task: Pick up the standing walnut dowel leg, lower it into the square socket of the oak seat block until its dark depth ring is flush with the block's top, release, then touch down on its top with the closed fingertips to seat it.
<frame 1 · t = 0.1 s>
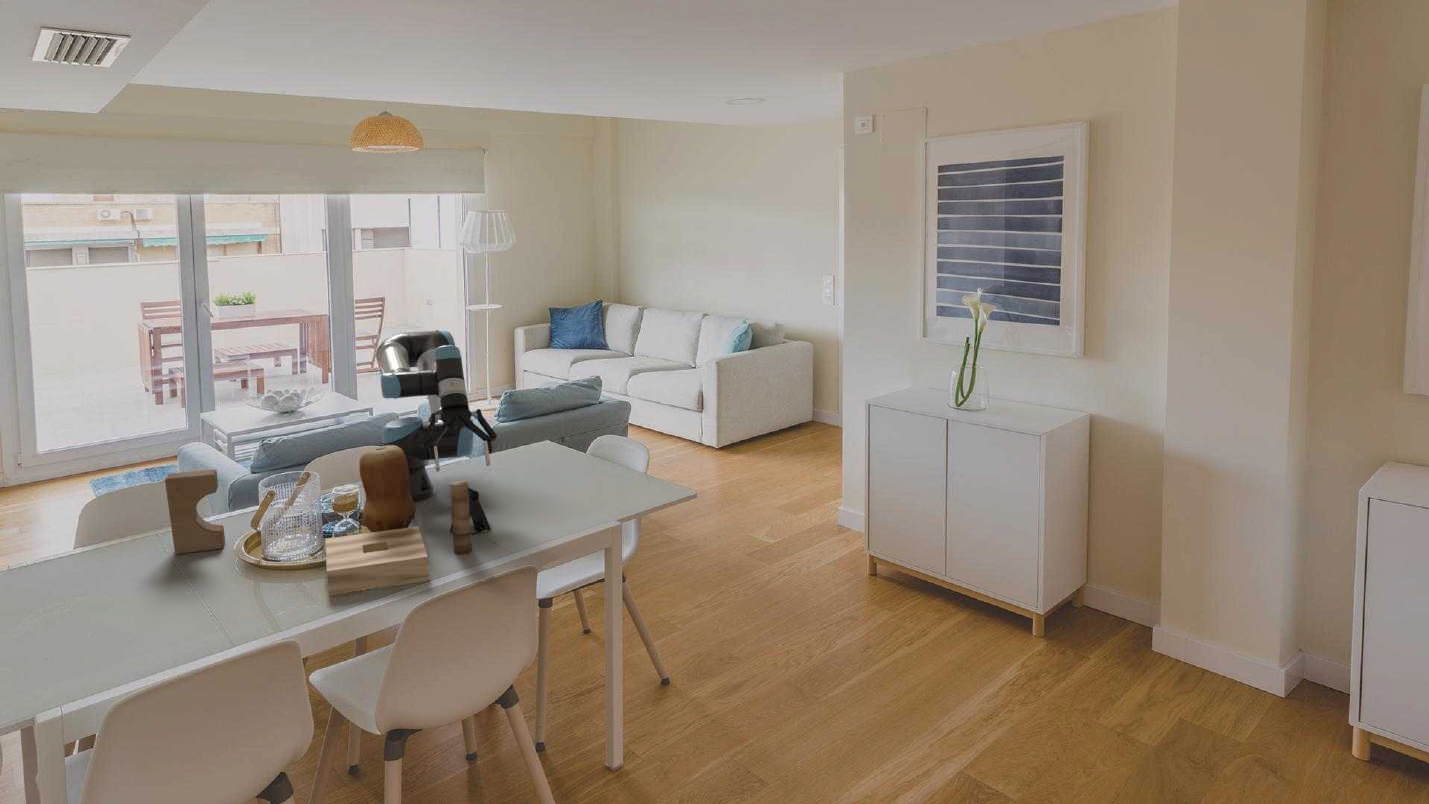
hand: (463, 467, 258), 15 cm above the table, tool tilted 35°, fingers open, 13 cm apart
butternut squash: (391, 538, 248), on the table
seat block: (377, 570, 227), on the table
leg: (462, 550, 239), on the table
decorative block: (200, 549, 241), on the table
black a-frame stand: (470, 531, 253), on the table
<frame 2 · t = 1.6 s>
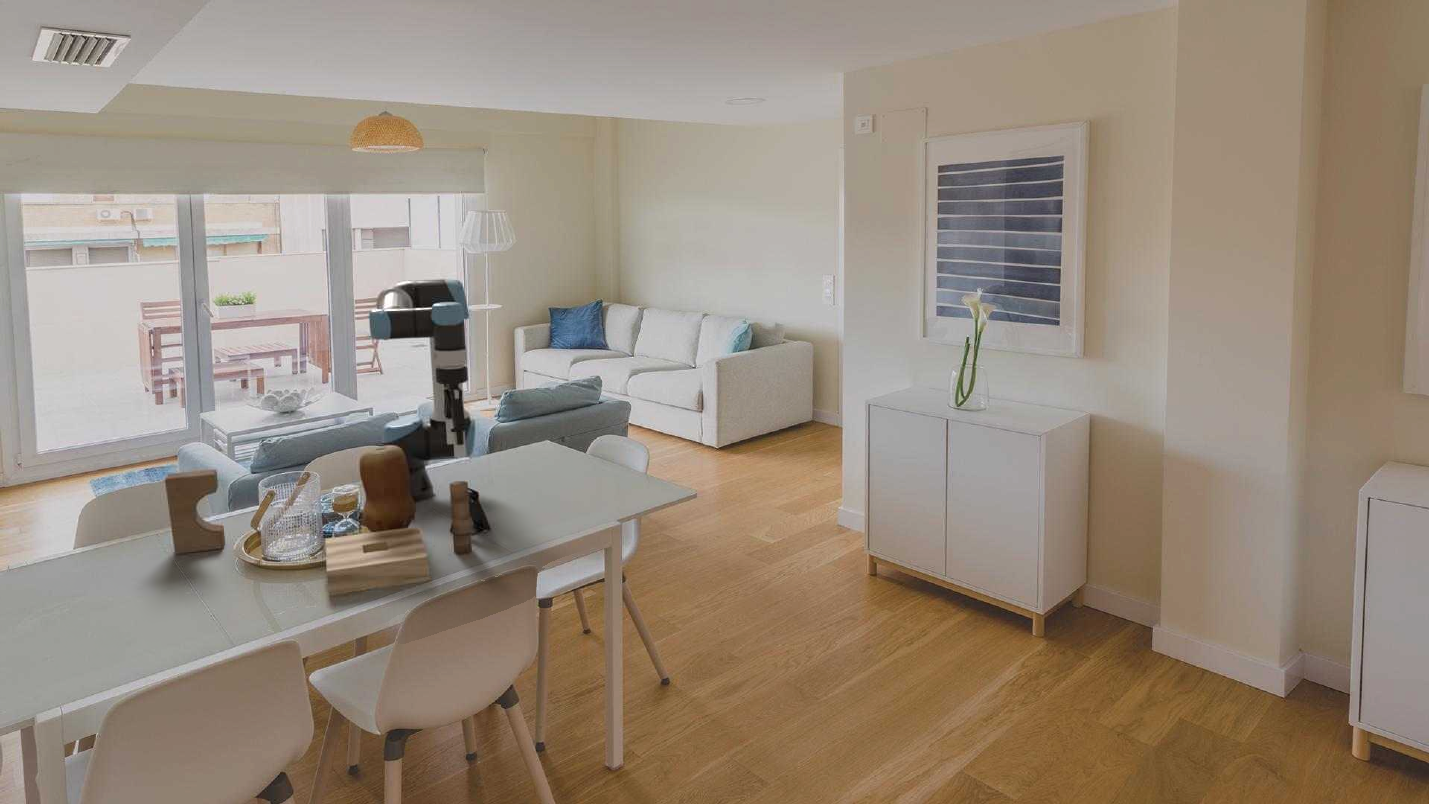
hand: (456, 450, 233), 27 cm above the table, tool pointing down, fingers open, 13 cm apart
nothing on the table moved.
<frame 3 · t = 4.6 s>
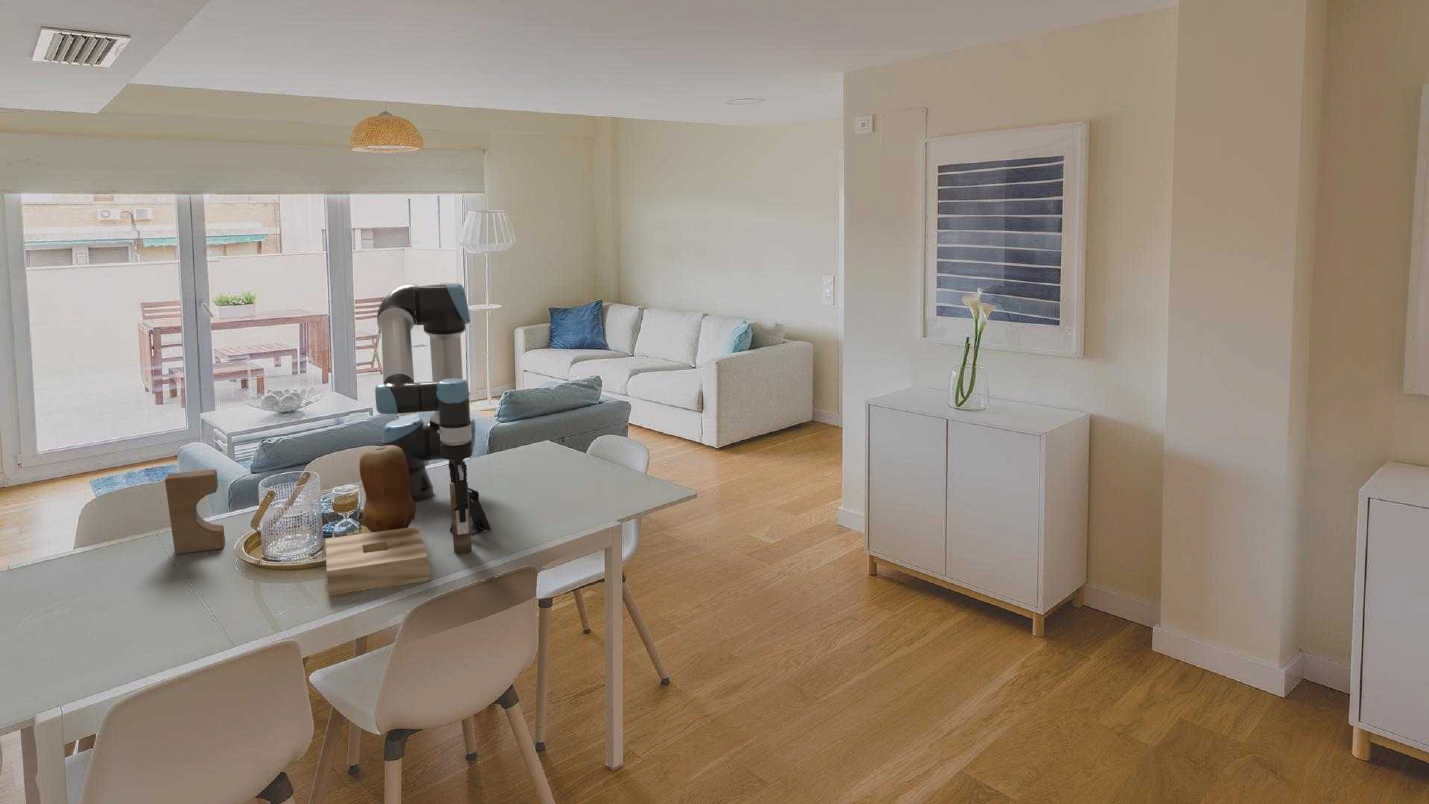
hand: (461, 529, 238), 6 cm above the table, tool pointing down, fingers closed on leg, 4 cm apart
leg: (462, 550, 239), on the table, touching gripper
everything else where it was.
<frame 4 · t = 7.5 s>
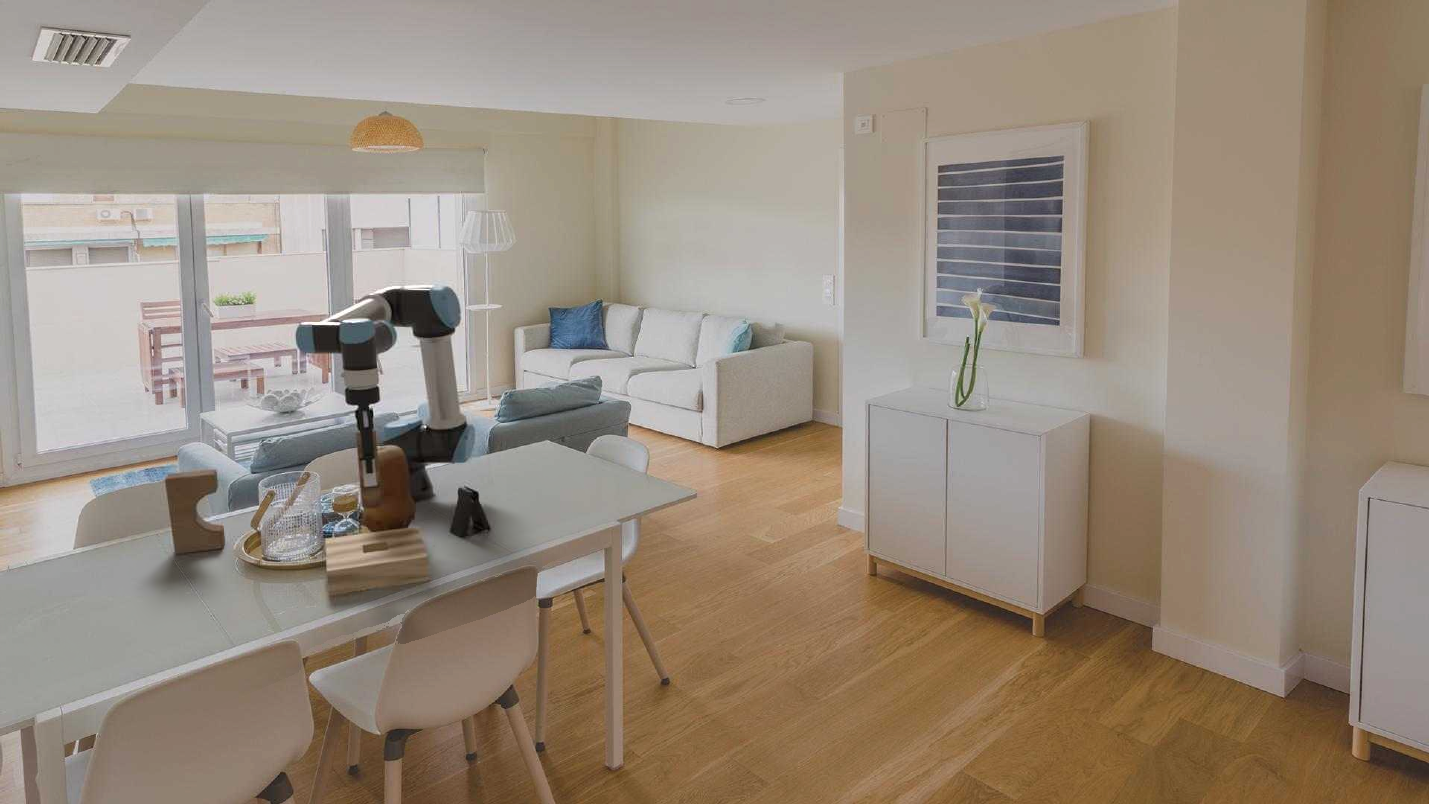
hand: (369, 482, 222), 22 cm above the table, tool pointing down, fingers closed on leg, 4 cm apart
leg: (371, 505, 223), point 17 cm above the table, touching gripper
everything else where it was.
when the fingers open (8 cm above the table, at t = 10.3 s): leg stays where it is, resting on seat block.
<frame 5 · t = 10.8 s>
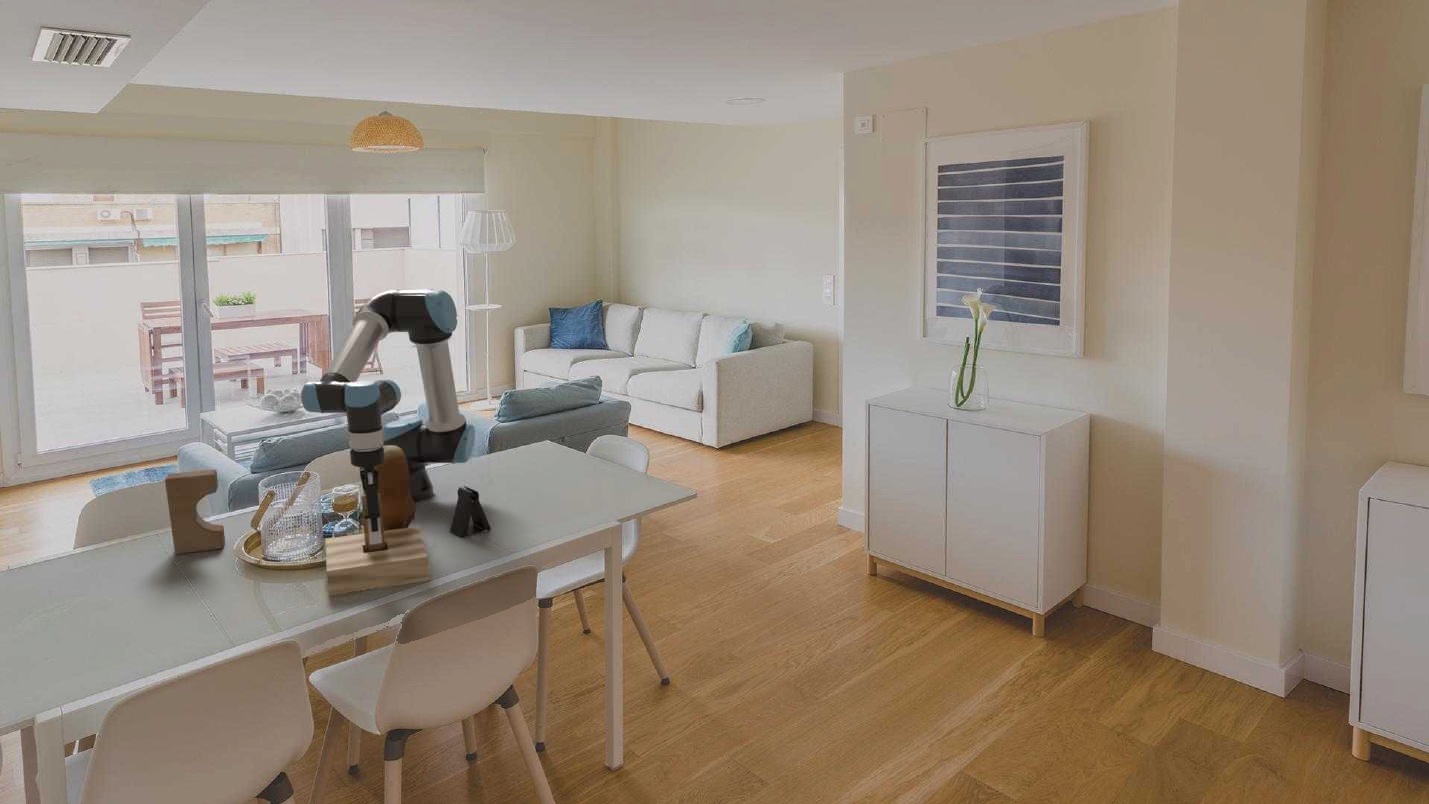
hand: (374, 534, 225), 9 cm above the table, tool pointing down, fingers open, 11 cm apart
leg: (377, 566, 226), point 1 cm above the table, touching seat block
everything else where it was.
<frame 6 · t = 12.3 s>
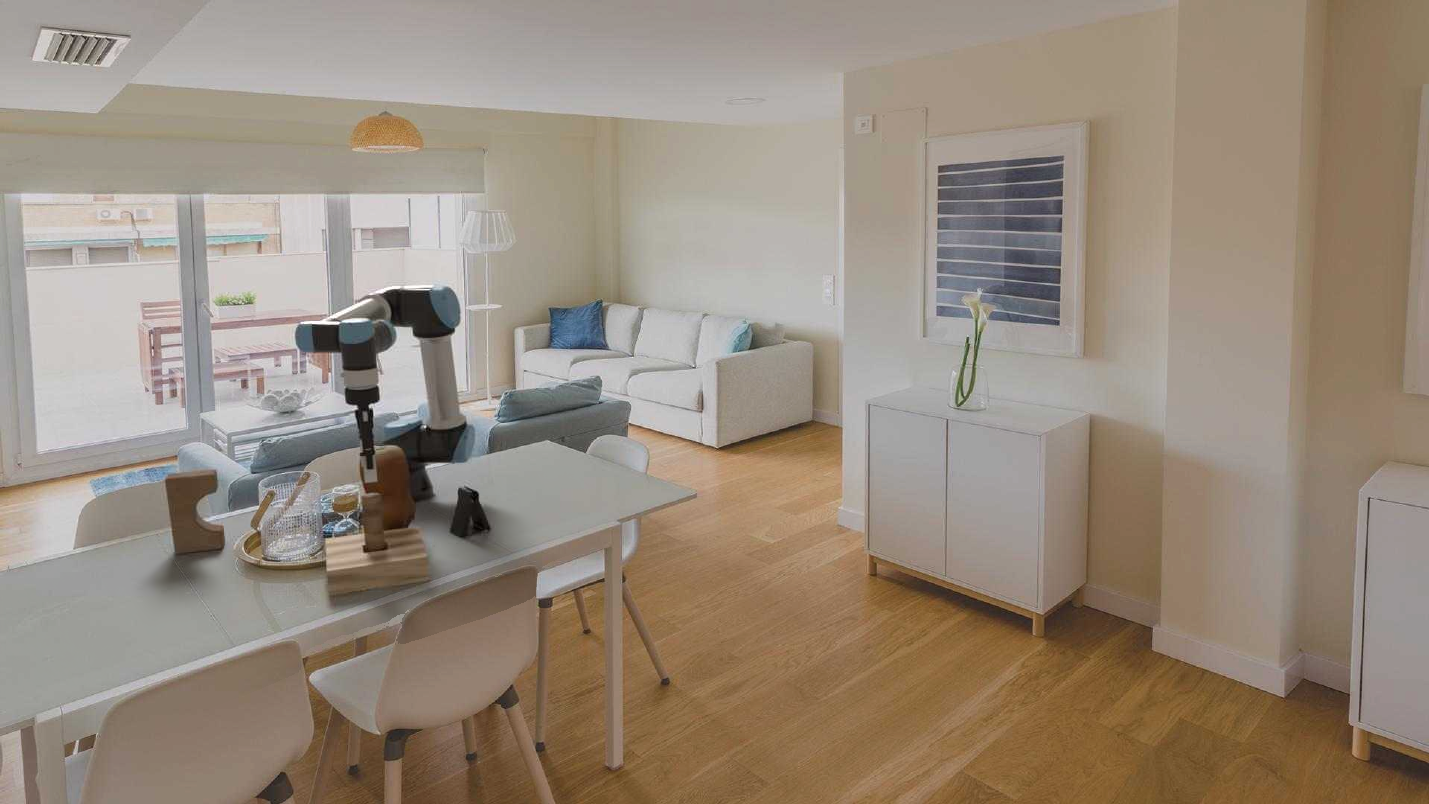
hand: (369, 473, 222), 24 cm above the table, tool pointing down, fingers open, 13 cm apart
nothing on the table moved.
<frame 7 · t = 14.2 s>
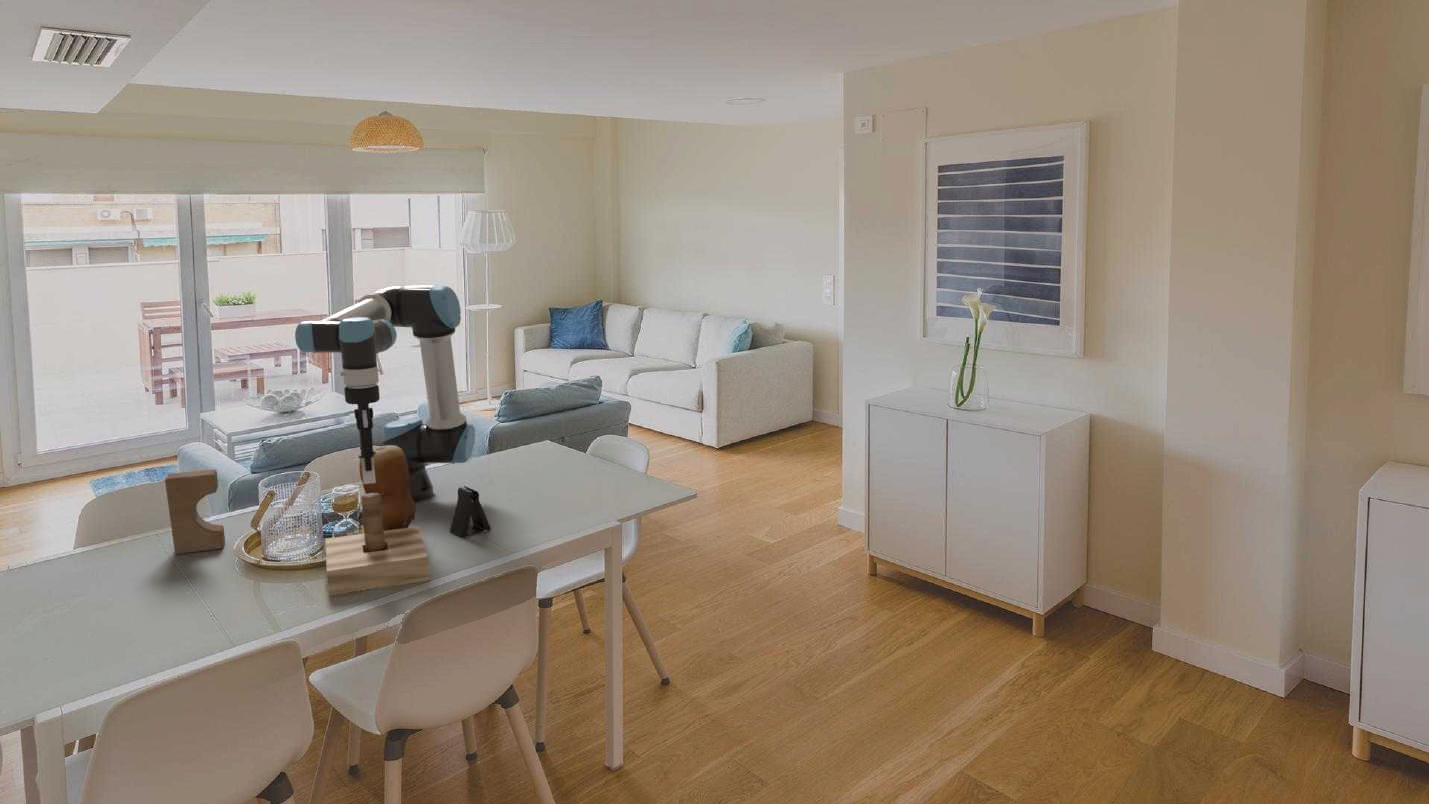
hand: (369, 482, 222), 22 cm above the table, tool pointing down, fingers closed
nothing on the table moved.
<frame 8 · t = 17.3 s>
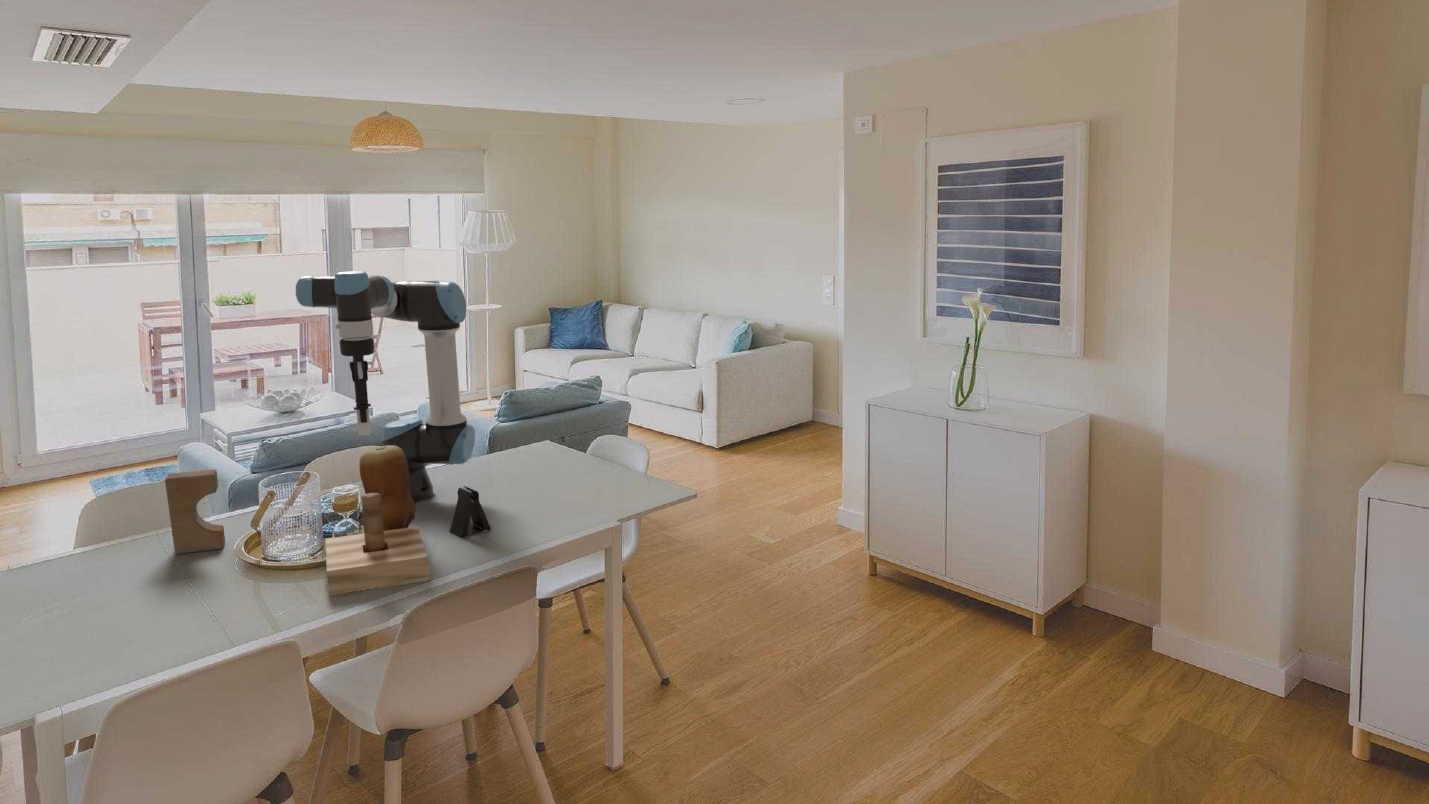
hand: (364, 434, 226), 32 cm above the table, tool pointing down, fingers closed
nothing on the table moved.
at the end: leg 0.0 cm off-centre on the seat block, point 1.0 cm above the seat block's base; leg tilted 0°; the gripper is holding nothing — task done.
